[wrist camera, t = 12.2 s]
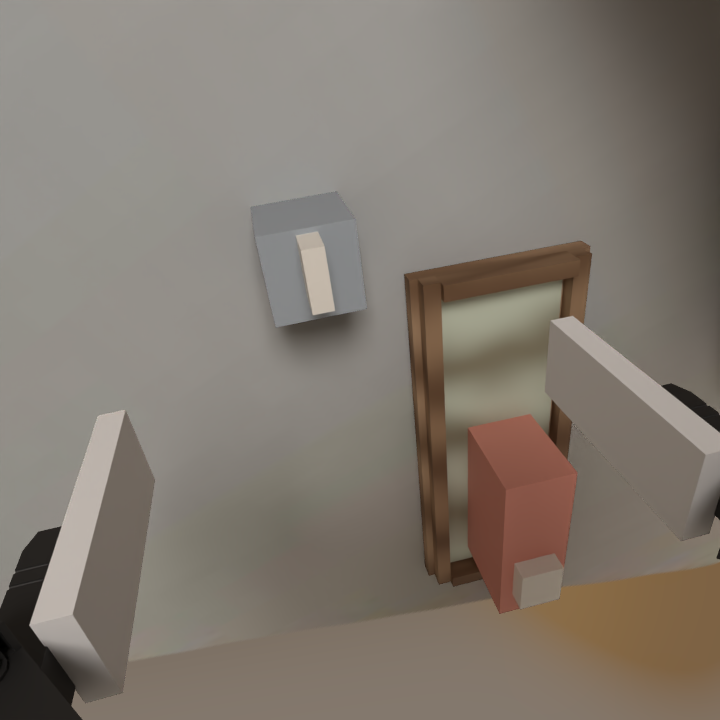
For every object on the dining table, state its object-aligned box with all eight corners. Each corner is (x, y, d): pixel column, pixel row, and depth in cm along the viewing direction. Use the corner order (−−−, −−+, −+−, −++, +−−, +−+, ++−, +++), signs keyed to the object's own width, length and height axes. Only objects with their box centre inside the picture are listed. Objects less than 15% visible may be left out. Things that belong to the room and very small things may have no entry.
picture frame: (404, 274, 32) (417, 291, 30) (581, 240, 33) (605, 254, 31) (425, 565, 45) (435, 591, 43) (549, 533, 47) (564, 557, 45)
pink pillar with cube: (467, 427, 37) (515, 504, 31) (530, 413, 38) (588, 487, 32) (467, 546, 43) (507, 629, 37) (521, 532, 44) (568, 613, 38)
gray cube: (250, 206, 28) (256, 252, 22) (336, 191, 29) (365, 232, 23) (268, 286, 30) (279, 347, 25) (347, 271, 31) (376, 327, 25)
